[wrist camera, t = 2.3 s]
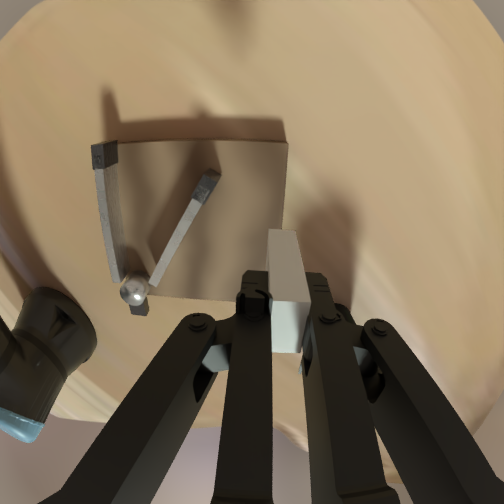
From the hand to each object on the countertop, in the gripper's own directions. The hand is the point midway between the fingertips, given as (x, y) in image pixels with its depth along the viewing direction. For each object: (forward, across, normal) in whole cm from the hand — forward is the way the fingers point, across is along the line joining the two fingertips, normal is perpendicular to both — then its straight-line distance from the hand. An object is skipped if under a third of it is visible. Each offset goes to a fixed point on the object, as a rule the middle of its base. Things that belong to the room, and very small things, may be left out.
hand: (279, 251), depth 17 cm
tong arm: (+12, -9, -4) cm, 15 cm away
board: (+14, -8, -4) cm, 17 cm away
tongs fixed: (+12, -15, -5) cm, 20 cm away
